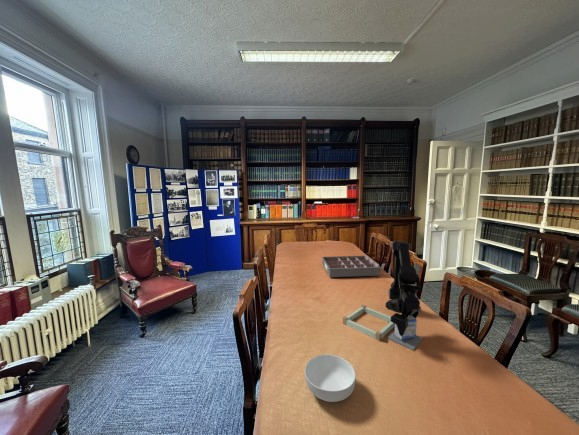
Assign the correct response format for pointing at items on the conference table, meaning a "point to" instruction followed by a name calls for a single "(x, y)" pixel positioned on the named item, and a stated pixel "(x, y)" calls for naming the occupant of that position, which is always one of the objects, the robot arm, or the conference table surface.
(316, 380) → the cereal bowl
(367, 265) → the organizer tray
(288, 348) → the conference table surface
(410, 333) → the medicine box
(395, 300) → the robot arm
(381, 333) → the pale green square frame
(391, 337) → the slate mat
